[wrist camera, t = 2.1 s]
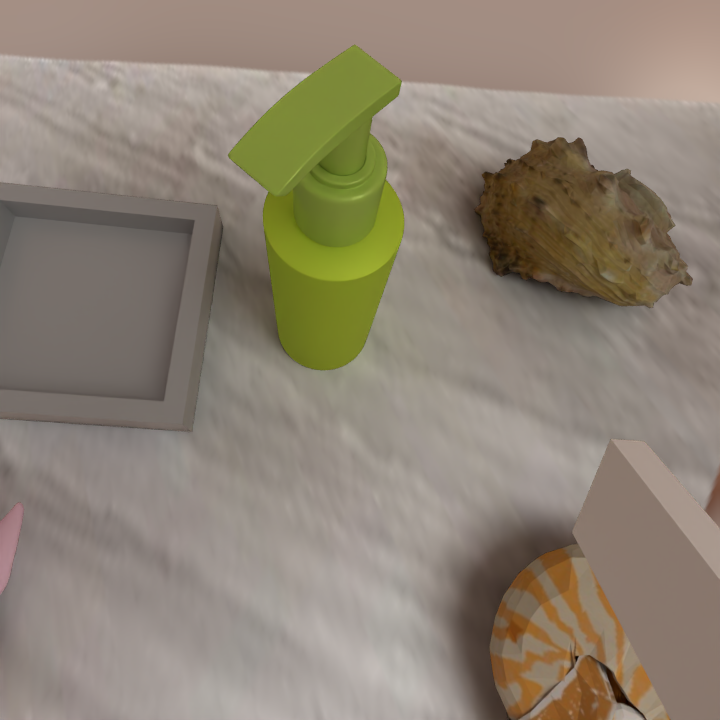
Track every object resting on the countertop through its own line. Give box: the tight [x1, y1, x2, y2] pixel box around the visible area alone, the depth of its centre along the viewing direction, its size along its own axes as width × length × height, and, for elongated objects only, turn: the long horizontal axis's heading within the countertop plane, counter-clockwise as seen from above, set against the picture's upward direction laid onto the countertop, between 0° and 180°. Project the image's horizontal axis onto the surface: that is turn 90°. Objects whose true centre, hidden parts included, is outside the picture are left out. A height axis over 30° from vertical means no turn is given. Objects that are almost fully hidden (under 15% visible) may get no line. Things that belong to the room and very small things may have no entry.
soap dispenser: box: [228, 45, 404, 370], centre depth 24 cm, size 6×7×20 cm
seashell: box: [474, 137, 693, 308], centre depth 33 cm, size 11×15×10 cm
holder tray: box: [0, 182, 223, 432], centre depth 31 cm, size 14×14×3 cm
